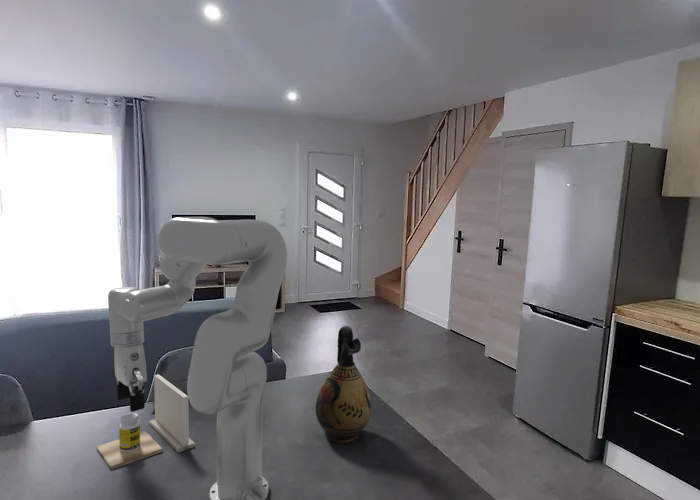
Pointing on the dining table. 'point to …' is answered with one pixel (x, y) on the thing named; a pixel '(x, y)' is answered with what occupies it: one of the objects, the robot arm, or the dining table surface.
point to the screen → (171, 414)
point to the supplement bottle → (129, 432)
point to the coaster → (119, 458)
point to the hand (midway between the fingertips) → (130, 403)
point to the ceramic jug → (344, 394)
